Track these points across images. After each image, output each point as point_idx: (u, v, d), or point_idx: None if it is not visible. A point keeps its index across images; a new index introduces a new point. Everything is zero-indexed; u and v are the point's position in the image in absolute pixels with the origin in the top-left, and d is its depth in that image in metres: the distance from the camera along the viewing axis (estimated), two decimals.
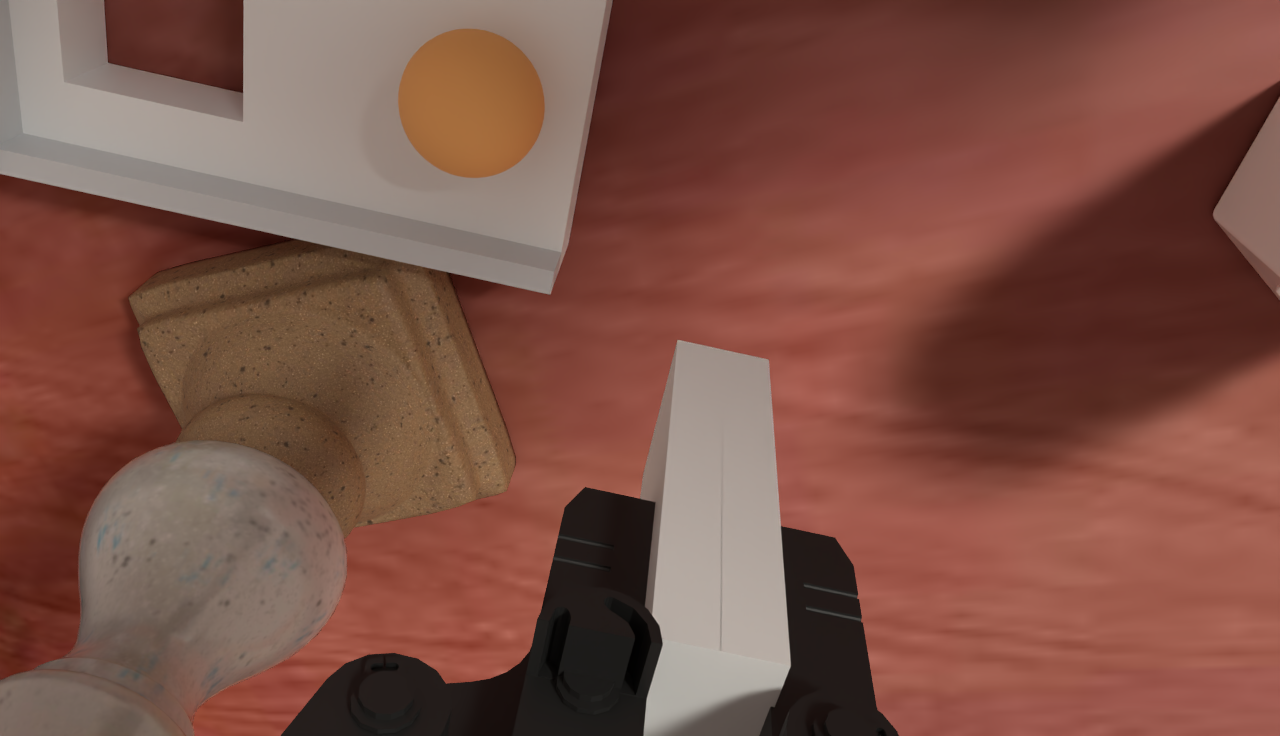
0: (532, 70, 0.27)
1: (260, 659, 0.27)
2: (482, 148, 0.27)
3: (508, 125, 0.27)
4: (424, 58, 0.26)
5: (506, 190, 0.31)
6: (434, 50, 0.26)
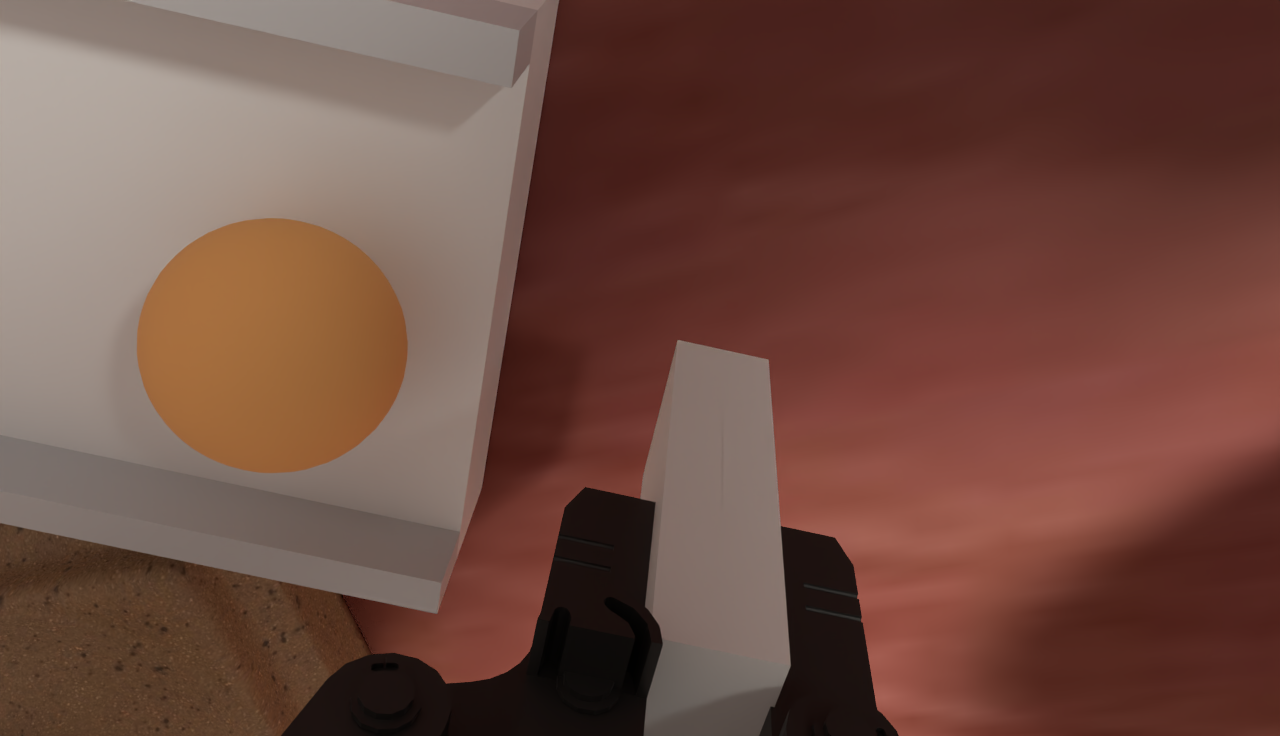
0: (377, 294, 0.15)
1: None
2: (280, 445, 0.15)
3: (326, 405, 0.15)
4: (170, 286, 0.14)
5: (366, 444, 0.19)
6: (187, 273, 0.14)
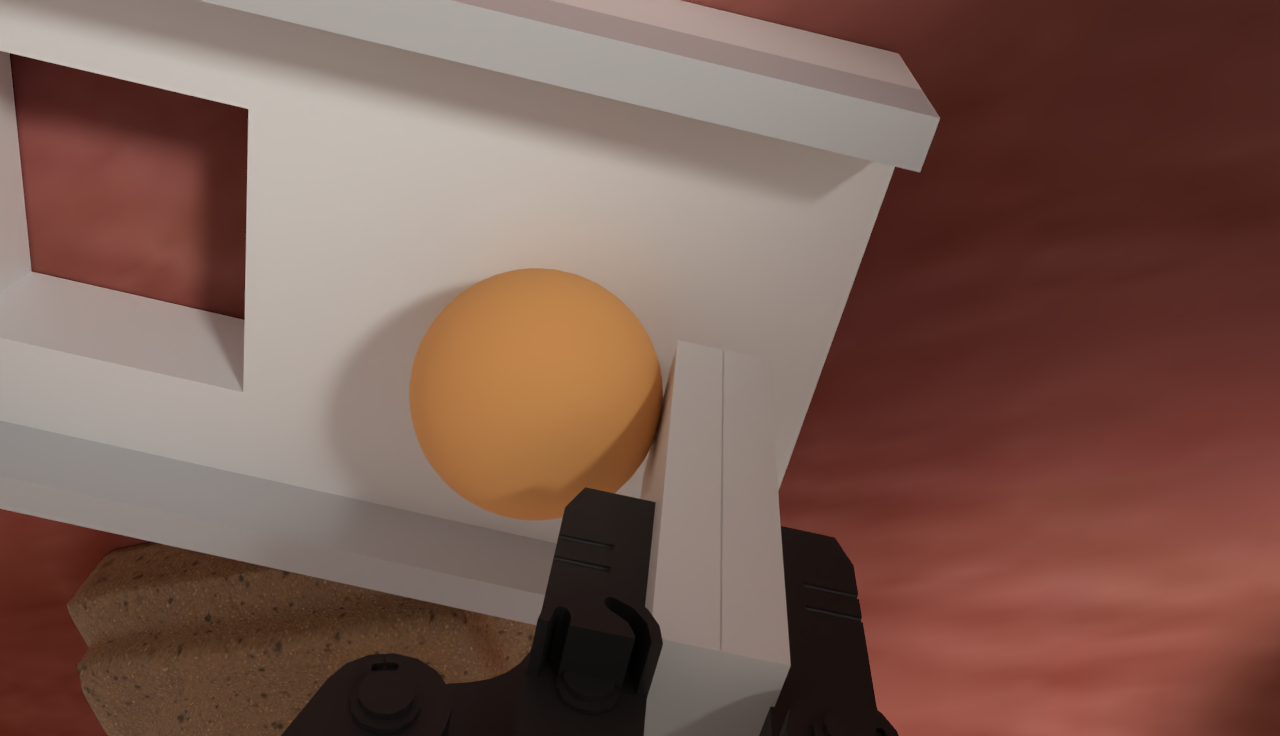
0: (609, 376, 0.15)
1: None
2: (462, 476, 0.15)
3: (504, 457, 0.14)
4: None
5: None
6: (466, 293, 0.15)
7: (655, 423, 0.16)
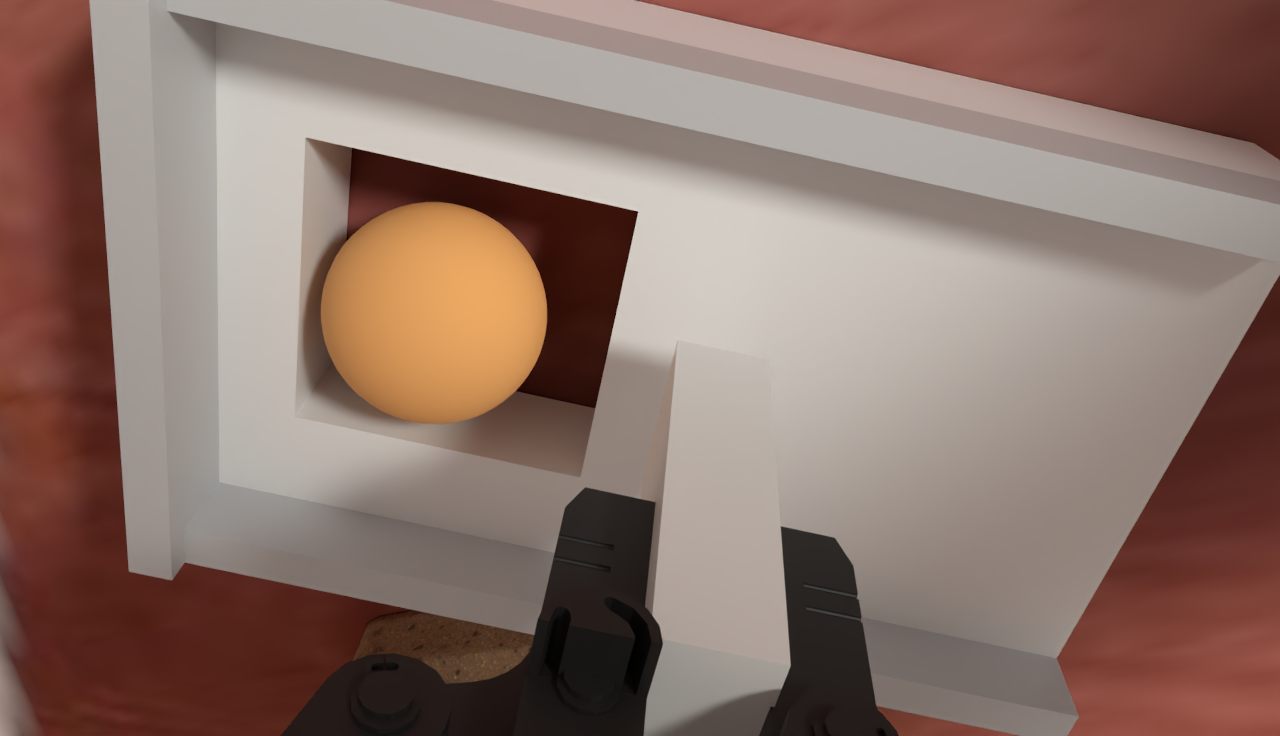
0: (527, 252, 0.18)
1: None
2: (499, 390, 0.17)
3: (531, 348, 0.18)
4: (388, 275, 0.16)
5: (992, 578, 0.20)
6: (403, 261, 0.16)
7: None
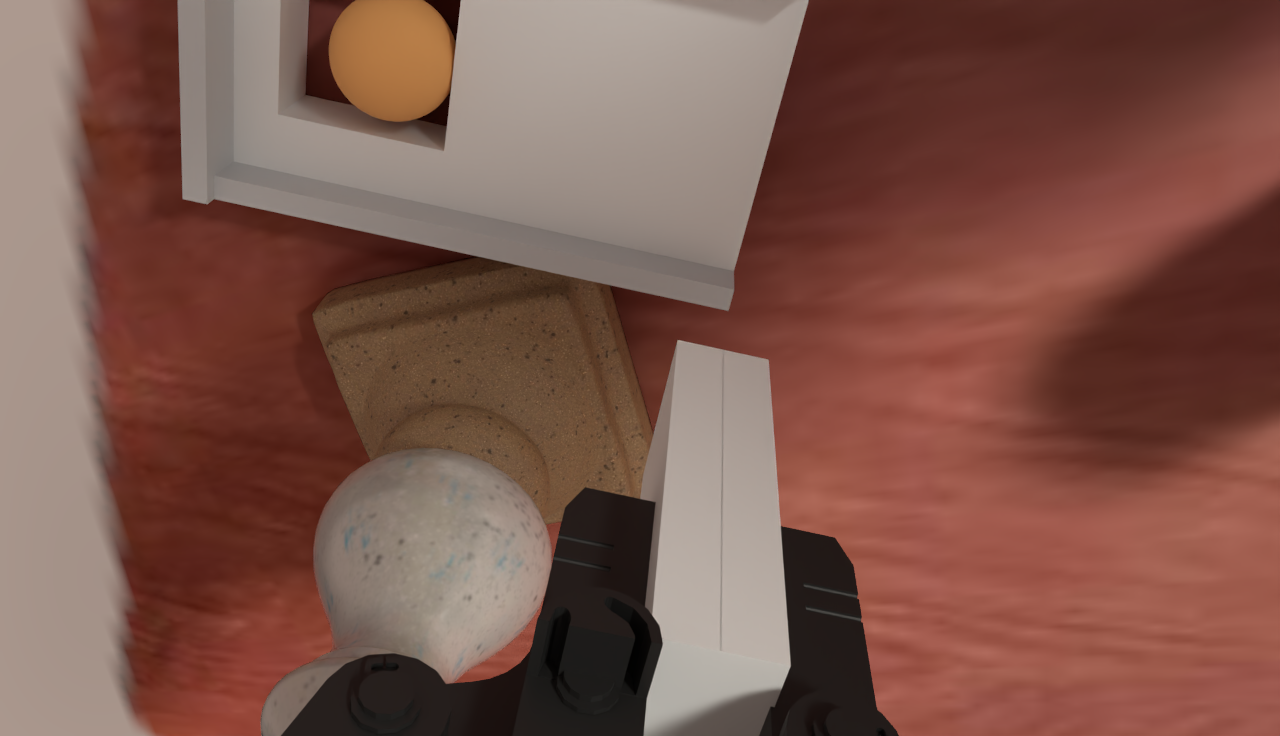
0: None
1: (488, 650, 0.29)
2: (449, 88, 0.32)
3: None
4: (392, 27, 0.30)
5: (687, 213, 0.33)
6: (398, 19, 0.30)
7: None
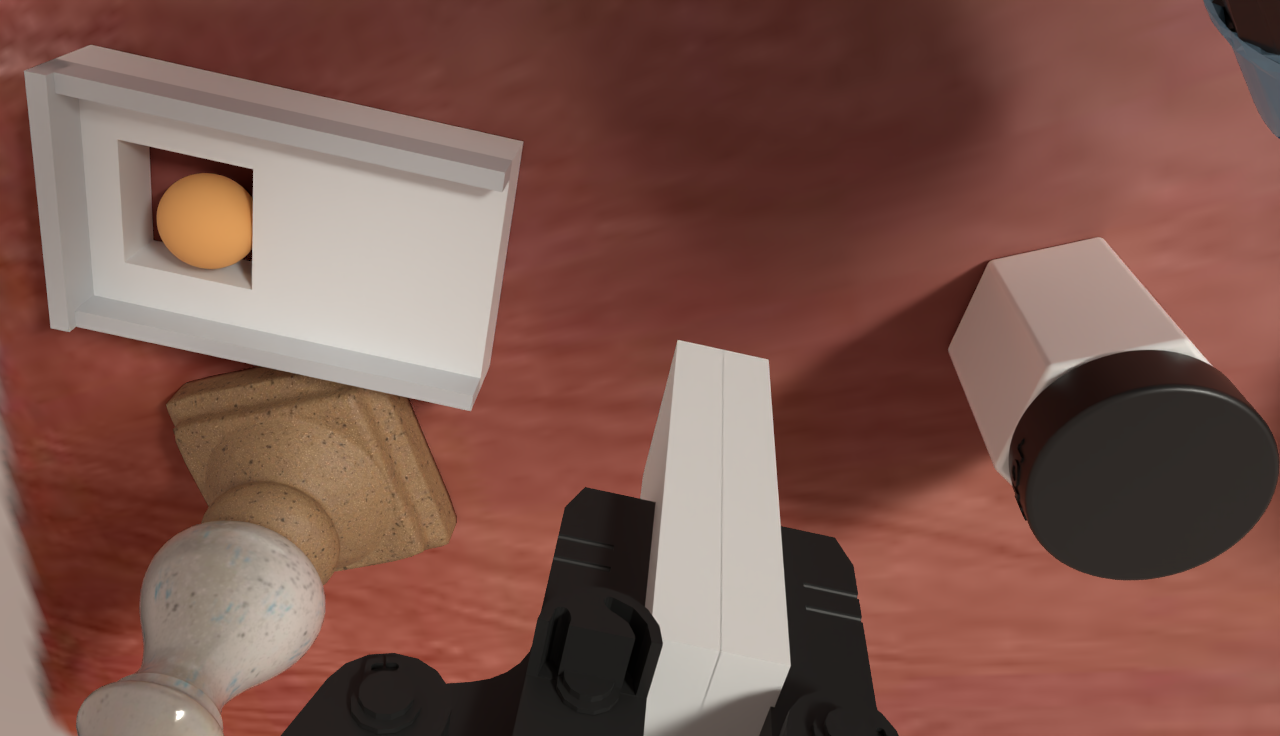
0: None
1: (265, 672, 0.39)
2: (251, 245, 0.43)
3: None
4: (198, 207, 0.41)
5: (439, 336, 0.44)
6: (202, 200, 0.41)
7: None
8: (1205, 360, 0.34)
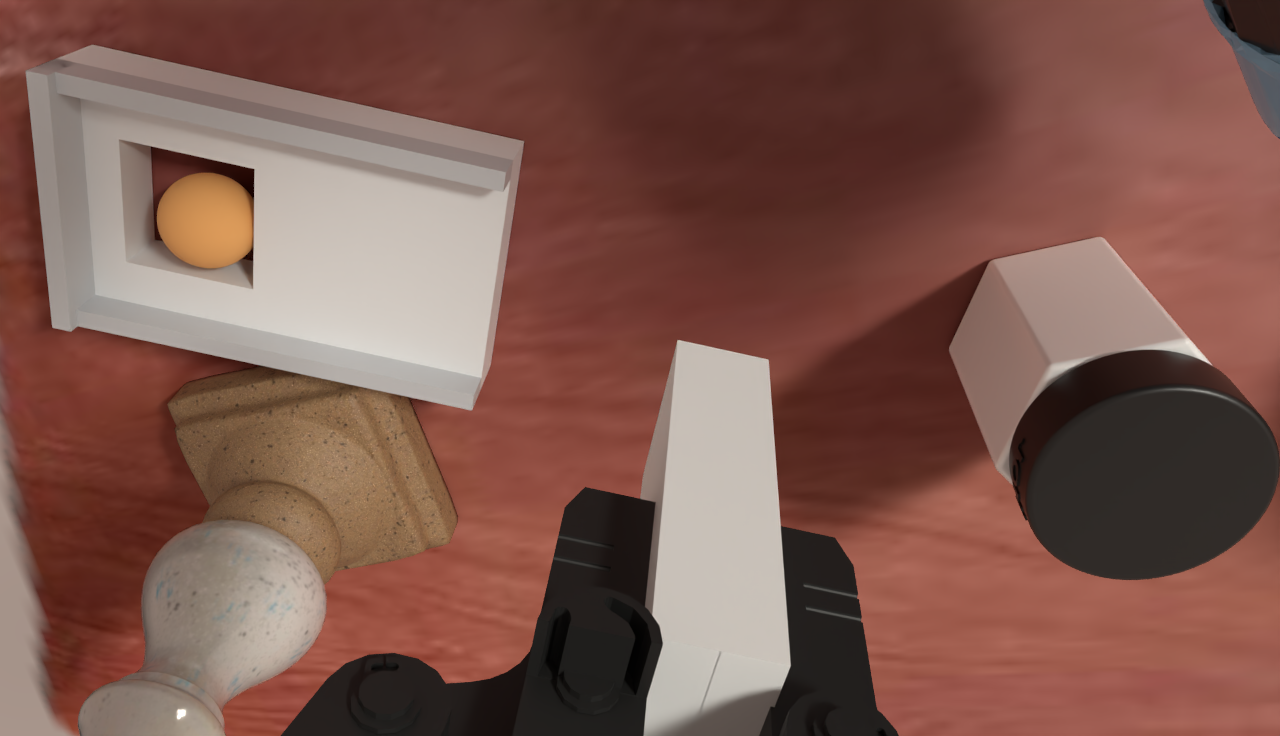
0: None
1: (266, 671, 0.39)
2: (250, 244, 0.43)
3: None
4: (197, 206, 0.41)
5: (440, 336, 0.44)
6: (202, 199, 0.41)
7: None
8: (1206, 360, 0.34)
